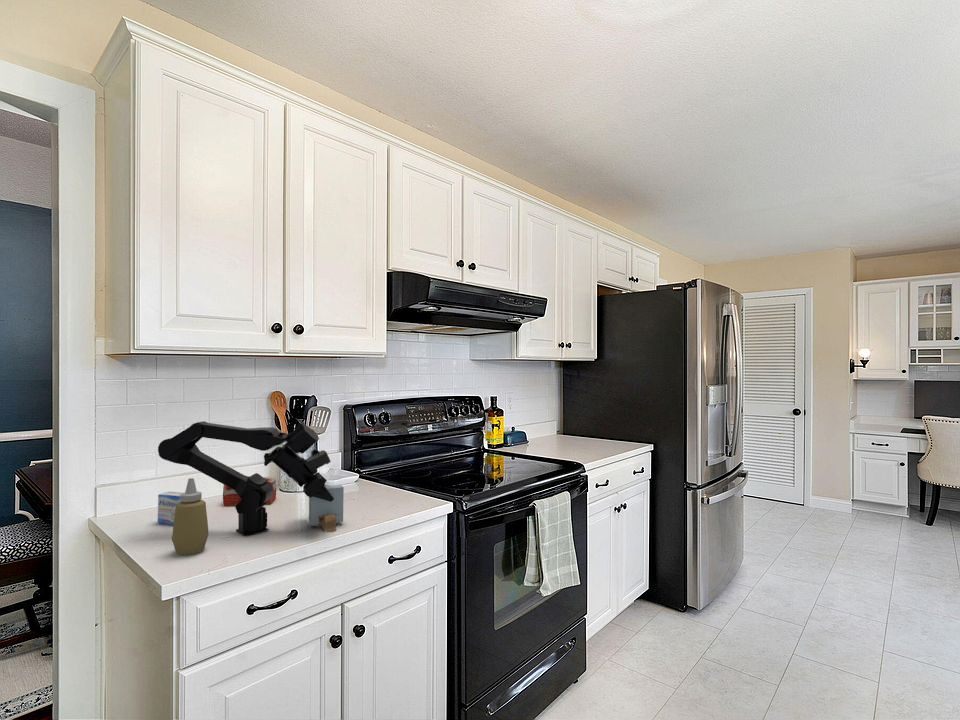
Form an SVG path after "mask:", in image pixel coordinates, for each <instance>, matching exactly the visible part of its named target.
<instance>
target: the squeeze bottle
mask: <svg viewBox="0 0 960 720" xmlns="http://www.w3.org/2000/svg"><path fill="white" fill-rule="evenodd" d="M185 487H186V488H185V492H181V493H182V494H181V495H180V501H181V502H180V503H178V504H177V505H176V508H175V517H174V525H172V526H173V527H172V535H171V542H172V545H173V548H174V549H175V552H176V554H177V555H178V556H179V555H180V556H188V555H194V554H199V553H200V552H202V551H204V549H205V546H206V543H207V542H208V539H209V535H210V532H209V524H208V523H209V522H208V514H207V513H208V512H207V503H206V501H204V500H202V496H203V495H202V491H198V490H197V486H196V482H195V479H194V478H193V477H191V478H188V480H187V483H186V486H185Z"/></svg>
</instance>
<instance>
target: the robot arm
mask: <svg viewBox="0 0 960 720" xmlns="http://www.w3.org/2000/svg"><path fill="white" fill-rule="evenodd" d="M202 438H205V439H211V440H218V441H226V442H232V443H233V442H234V443H240V444H243V445H246V446H248V447H249V448H251V449H254V450H258V451H261V452H265V451H268V450H271V449H273V448H274V449H273V450H272V451H270V452H266V453H264V455H263V459H264V461H263V462H264V464H263V465H264V466H265V467H267V466H268V465H269V464H271V463H273V464H275V465H276V466H277V467H278V468H279V469H280V470H282V472H284V473H285V474H286V476H287V477H288V478H290V479H291V480H293V481H294V482H295V483H296V484H297V486H299V487H300V488H302V491H303V493H304V494H305V495H306V496H307V497H308V499H309V498H311V497H316V498H320V499H323V500H327V501H330V502H332V501H333V500H334V498H333V497H332V495H331V494H330V493H329V491H328V490H327V489H326V487H325V486H326V485H325V484H326V483H327V481H328V480H327V479H326V478H325V477H324V476H323V475H322V474H321V473H320V472H318V469H319V468H322V467H323V466H325V465H328V464H330V463H331V462H332V460H331V459H330V457H329V454H328V453H327V451H326V450H324V449H323V450H322V449H321V450H318V449H316V448H315V449H313V450H311V451H310V455H309V456H308V458H306V459H305V458H304V457H303V456H300V455H299V453H300V454H304V453H306V452H307V451H308V450H309V449H310V448H311V447H312V446H313V445H315V444H317V442H318V441H319V440H320V438H319V435H318V434H317V432H316V431H315V430H314V429H312V428H311V427H310V426H308V425H306V424H305V423H304V422H300V423H299V424H298V425H297V426H296V427H295V429H293V430H292V431H291V432H290V433H286V432H281V431H279V429H277V428H276V427H272V426H269V427H268V426H267V427H253V428H251V427H250V428H246V427H240V426H239V427H238V426H234V425H226V424H218V423H211V422H207V421H205V420H203V421H197V422H194V423H192V424H191V425H190V426H188V427H187V428H186V429H184V430H182V431H181V432H179V433H177V434H175V435H174V436H172V437H170V438H166V439H163V440H162V441H160V443H159V444H158V447H157V452H158V456H159V457H160V458H161V459H162V460H163V461H164V460H165V461H167V462H170V463H174V464H177V465H178V464H179V465H184V466H189V467H191V468H193V469H194V470H197V471H198V472H200V473H202V474H204V475H206V476H207V477H209V478H211V479H213V480H214V481H216V482H219V483H221V484H222V485H223V486H224V485H226V486H228V487H230V488H231V489H233V490H235V492H236V493H237V494H238V496H239V497H240V498H241V499H242V500H241V501H240V502H239V503H238V504H237V505H236V506H234V508H235V510H236V513H237V514H238V515H237V517H238V519H237V520H238V521H237V522H238V528H237V529H235V532H236V533H238V534H240V535H241V536H243V537H249V536H253V535H257V534H261V533H265V532H269V528H268V512H267V509H266V508H267V507H265V506H267V505H266V504H267V501H268V500H269V499H270V498H271V497H272V496H273V493H274V488H273V485H272V484H271V483H270V482H268V480H269V479H266V478H263V477H264V476H262V475H260V474H259V473H257V472H256V473H253V474H252V475H250V476H248V475H245V474H244V473H241V472H239V471H238V470H236V469H234V468H232V467H230V466H228V465H227V464H224V463H223V462H220V461H218V460H217V459H215V458H213V457H212V456H209V455H207V453H204V452H202V451H201V450H200V449H199V447H198V446H197V445H196V444H197V443H198V442H199V441H200V440H201V439H202ZM282 444H283V445H282ZM280 445H282V446H280Z"/></svg>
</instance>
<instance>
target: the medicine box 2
mask: <svg viewBox="0 0 960 720" xmlns="http://www.w3.org/2000/svg"><path fill="white" fill-rule="evenodd" d="M262 477H263V478H266V479H269V480H268V482H270V483H271V484H272V485H273V488H274V493H273V496H272V497H271V498H270V499H269V500H268V501H267V504H266V505H265V506H270V505H272V504H273V502H274V501H275V500H276V499H277V487H278V486H277V477H276V476H262ZM222 488H223V489H222V490H223V491H222V505H223V507H224V506H225V507H235V506H236V505H237V504H238V503H239V502H240V501H241V500H242V499H241V498H240V497H239V496H238V494H237V493H236V492H235V490H233V489H231V488H230V487H228V486H226V485H224V484H223V487H222Z"/></svg>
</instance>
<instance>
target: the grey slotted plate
mask: <svg viewBox="0 0 960 720" xmlns="http://www.w3.org/2000/svg"><path fill="white" fill-rule="evenodd" d="M325 487H326V489H327V490H328V491H329V493H330V494H331V495H332V497H333V498H334V500H333V501H332V502H330V501H327V500H323V499H320V498H316V497H311V498H309V497H308V524H309V525H310V526H311V527H313V526H319V523H318V516H323V515H327V514H335V516H336V524H337V523H343V522H344V489H345V487H344V486H343V485H342V484H334V485H325Z"/></svg>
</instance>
